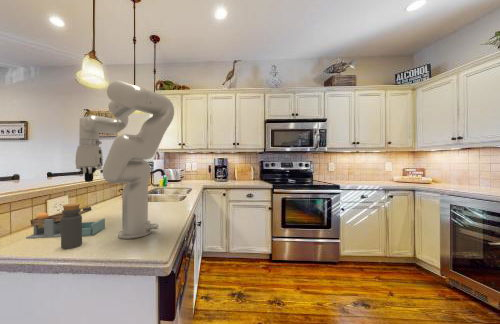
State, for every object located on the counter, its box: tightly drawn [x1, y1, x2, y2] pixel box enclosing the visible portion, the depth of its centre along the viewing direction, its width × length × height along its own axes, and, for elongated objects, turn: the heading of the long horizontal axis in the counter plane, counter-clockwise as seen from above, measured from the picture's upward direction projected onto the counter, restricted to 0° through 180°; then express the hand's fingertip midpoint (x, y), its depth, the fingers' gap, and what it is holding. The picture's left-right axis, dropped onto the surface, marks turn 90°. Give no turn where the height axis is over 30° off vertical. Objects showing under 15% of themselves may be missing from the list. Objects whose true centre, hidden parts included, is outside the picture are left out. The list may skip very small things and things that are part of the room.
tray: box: [82, 217, 106, 237], centre depth 91 cm, size 9×10×4 cm
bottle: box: [60, 202, 83, 250], centre depth 77 cm, size 6×6×15 cm
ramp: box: [29, 206, 93, 228], centre depth 94 cm, size 15×16×4 cm
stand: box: [25, 219, 61, 239], centre depth 89 cm, size 14×9×7 cm, turn 99°
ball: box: [36, 211, 49, 220], centre depth 88 cm, size 4×4×4 cm
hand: (88, 181), depth 102 cm, fingers closed
